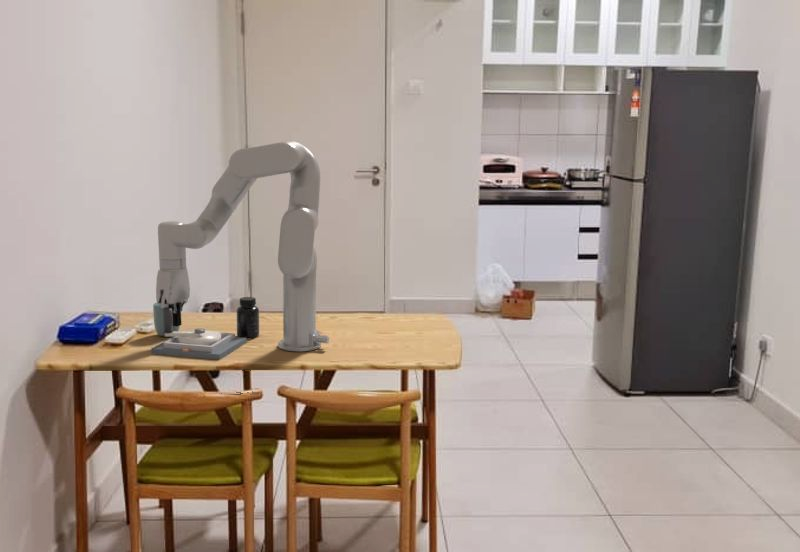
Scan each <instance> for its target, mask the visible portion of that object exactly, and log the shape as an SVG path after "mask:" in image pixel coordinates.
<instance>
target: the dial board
mask: <svg viewBox="0 0 800 552" xmlns="http://www.w3.org/2000/svg"><path fill="white" fill-rule="evenodd" d="M194 330H195V329H188V330H186V331H194ZM218 332H219V331H218ZM219 333H220V334H221V340H219V341H218V342H216V343H214V344H213V345H211V346H207V345H196V344H184V343H179V337H177V336H172V337H171V338H168V339H167V340H165V341H163V342H161V343H159V344H157V345H155V346H153V347H152V348H150V352H151V354H153V355H163V356H175V357H184V356H187V358H195V357H196V358H197V359H209V360H217V359H220V360H222V359H224V358H225V357H226V356H227V357H228V355H230V354H231V353H232V352H234V351H236V350H237V349H239V348H240V347H242V346H243V345H245V344H247V339H246V338H242V337H238V336H236V333H234V332H221V331H220V332H219Z"/></svg>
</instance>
